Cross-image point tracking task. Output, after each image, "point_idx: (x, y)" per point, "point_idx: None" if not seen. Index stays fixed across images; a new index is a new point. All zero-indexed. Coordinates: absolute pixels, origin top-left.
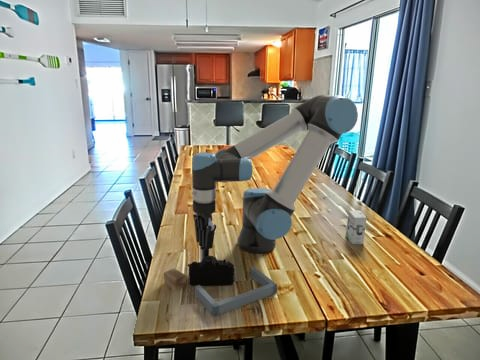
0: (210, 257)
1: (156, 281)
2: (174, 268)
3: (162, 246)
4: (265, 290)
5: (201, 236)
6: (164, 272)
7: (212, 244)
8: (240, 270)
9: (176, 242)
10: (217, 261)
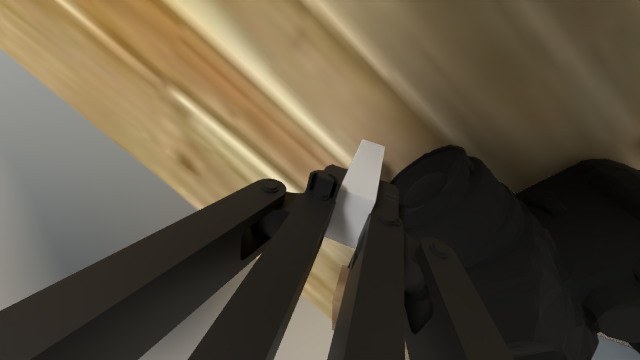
0: (538, 348)
1: (317, 293)
2: (335, 302)
3: (126, 141)
4: None
5: (295, 303)
6: (333, 328)
7: (471, 291)
8: (610, 9)
9: (105, 75)
10: (606, 326)
